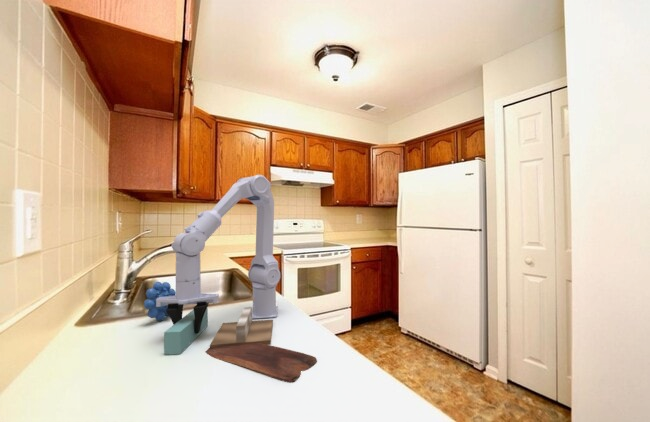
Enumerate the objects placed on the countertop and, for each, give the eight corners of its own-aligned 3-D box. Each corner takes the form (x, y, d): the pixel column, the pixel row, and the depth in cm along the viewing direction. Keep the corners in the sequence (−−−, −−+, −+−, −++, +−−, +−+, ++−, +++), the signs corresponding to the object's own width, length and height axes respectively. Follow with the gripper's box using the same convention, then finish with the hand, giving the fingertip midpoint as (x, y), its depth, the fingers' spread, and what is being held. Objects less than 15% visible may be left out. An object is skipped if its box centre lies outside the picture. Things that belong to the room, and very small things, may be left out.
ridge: (222, 326, 77) (222, 308, 77) (272, 323, 79) (272, 305, 79) (209, 349, 63) (209, 327, 63) (270, 344, 65) (270, 323, 65)
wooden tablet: (197, 348, 62) (231, 327, 71) (198, 357, 62) (232, 335, 71) (292, 381, 49) (319, 350, 58) (293, 392, 49) (319, 360, 58)
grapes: (158, 329, 75) (158, 286, 76) (137, 327, 77) (137, 285, 77) (186, 314, 87) (186, 277, 87) (168, 313, 88) (168, 276, 88)
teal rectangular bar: (194, 326, 77) (194, 308, 77) (207, 325, 77) (207, 308, 77) (164, 354, 61) (164, 332, 61) (180, 353, 61) (180, 331, 61)
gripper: (150, 284, 64) (149, 341, 64) (213, 281, 66) (214, 337, 66) (163, 277, 71) (163, 329, 71) (220, 275, 73) (220, 325, 73)
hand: (188, 332), depth 69 cm, fingers closed on teal rectangular bar, 4 cm apart
